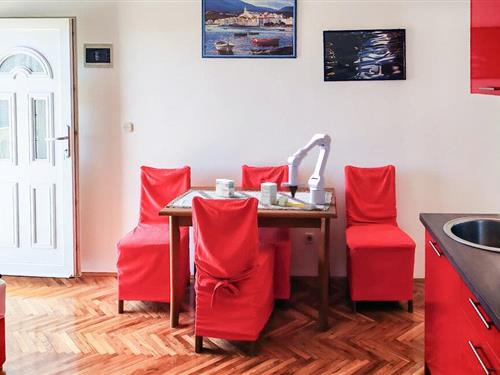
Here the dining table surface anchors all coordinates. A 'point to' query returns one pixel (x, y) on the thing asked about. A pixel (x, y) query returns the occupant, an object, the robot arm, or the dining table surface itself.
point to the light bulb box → (225, 188)
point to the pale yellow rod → (291, 204)
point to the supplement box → (268, 193)
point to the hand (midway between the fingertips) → (292, 197)
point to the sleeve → (283, 200)
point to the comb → (310, 206)
